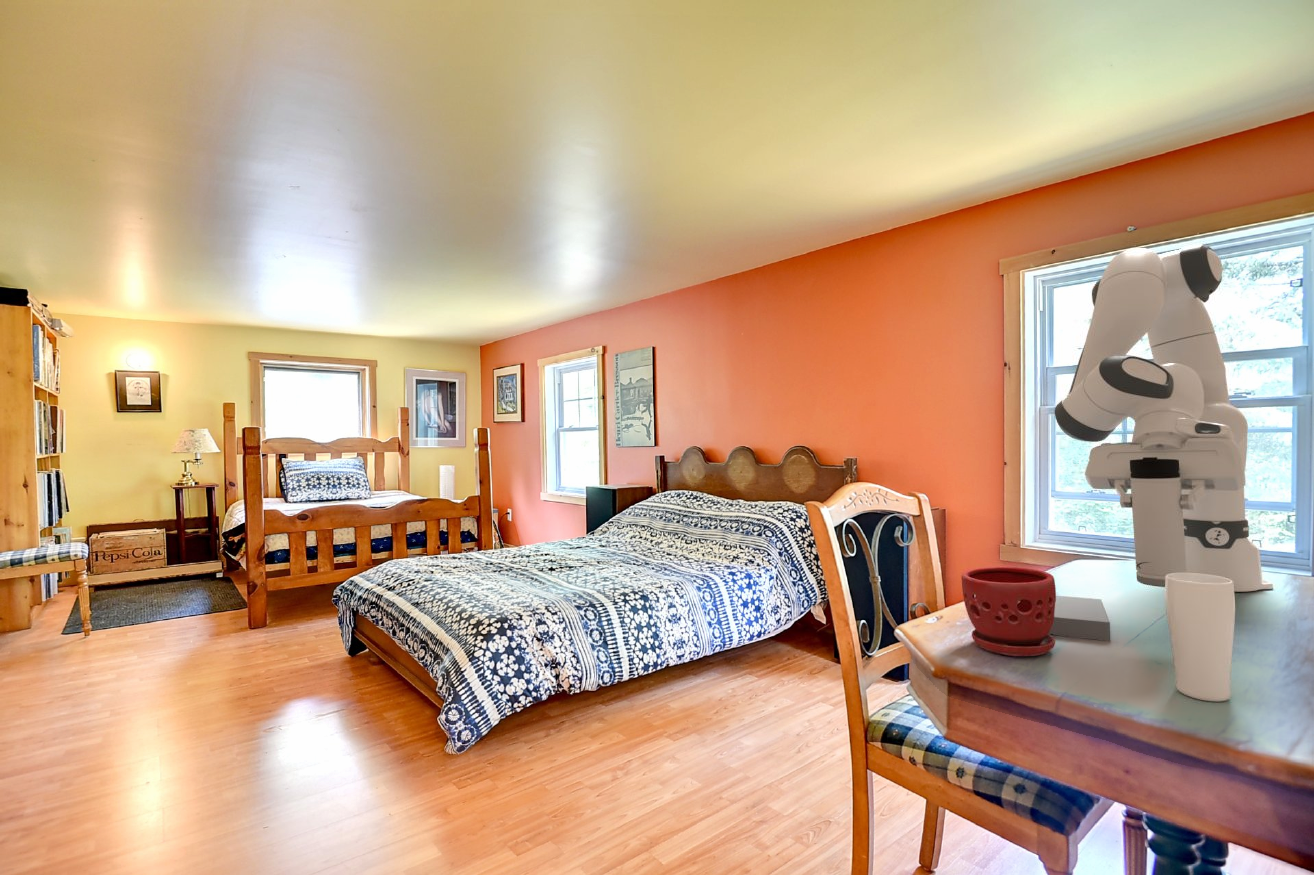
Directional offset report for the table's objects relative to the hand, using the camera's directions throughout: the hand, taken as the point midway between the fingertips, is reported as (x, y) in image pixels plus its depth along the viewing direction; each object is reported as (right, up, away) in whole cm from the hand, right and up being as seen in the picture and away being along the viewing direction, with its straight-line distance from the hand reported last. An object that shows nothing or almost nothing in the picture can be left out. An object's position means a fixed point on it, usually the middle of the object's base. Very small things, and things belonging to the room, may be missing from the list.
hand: (1155, 506), depth 99 cm
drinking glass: (-8, -22, -18) cm, 30 cm away
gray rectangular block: (-7, -22, +14) cm, 27 cm away
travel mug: (+1, -12, 0) cm, 12 cm away
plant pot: (-22, -23, +2) cm, 32 cm away
